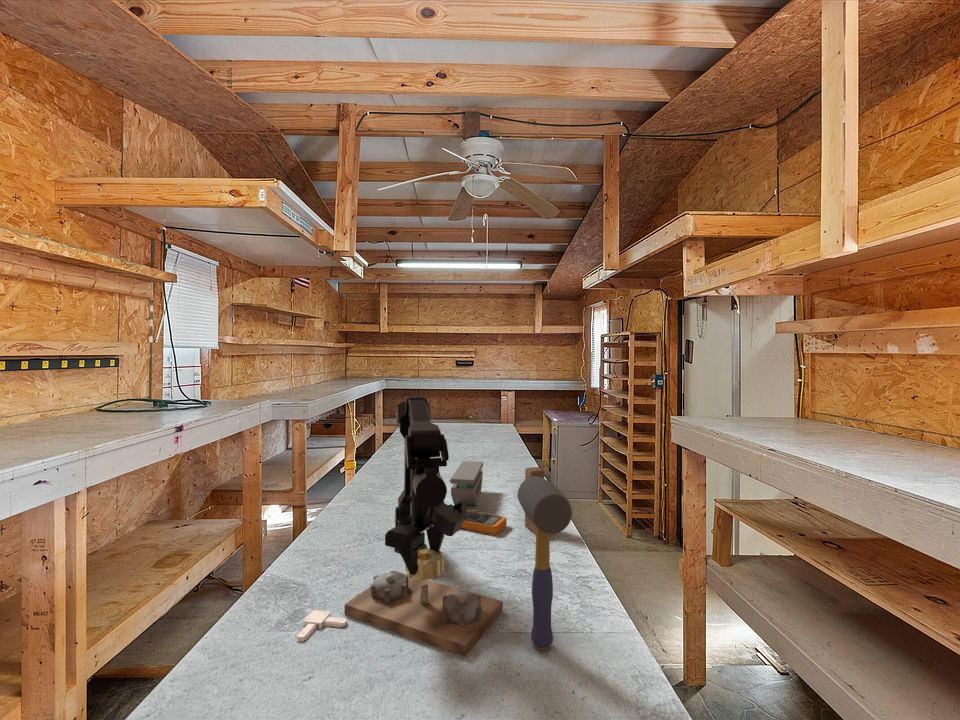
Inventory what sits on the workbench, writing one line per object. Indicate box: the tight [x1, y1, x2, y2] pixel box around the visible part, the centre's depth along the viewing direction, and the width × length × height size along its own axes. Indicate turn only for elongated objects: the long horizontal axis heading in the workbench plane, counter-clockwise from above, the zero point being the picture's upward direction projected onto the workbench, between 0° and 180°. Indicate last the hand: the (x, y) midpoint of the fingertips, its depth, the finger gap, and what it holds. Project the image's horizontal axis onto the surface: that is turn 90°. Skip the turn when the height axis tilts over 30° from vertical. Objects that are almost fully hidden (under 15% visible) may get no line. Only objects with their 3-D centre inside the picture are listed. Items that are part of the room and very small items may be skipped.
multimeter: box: [461, 509, 508, 536], centre depth 139 cm, size 9×18×3 cm, turn 64°
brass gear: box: [405, 547, 445, 581], centre depth 93 cm, size 8×8×3 cm
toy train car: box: [449, 460, 484, 506], centre depth 164 cm, size 25×8×11 cm, turn 172°
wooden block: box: [524, 466, 552, 536], centre depth 136 cm, size 9×4×18 cm, turn 19°
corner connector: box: [296, 609, 348, 642], centre depth 87 cm, size 8×8×2 cm
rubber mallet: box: [517, 476, 573, 651], centre depth 82 cm, size 12×8×30 cm, turn 9°
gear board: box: [344, 570, 504, 658], centre depth 93 cm, size 28×16×6 cm, turn 63°
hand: (424, 566), depth 93 cm, fingers closed on brass gear, 7 cm apart
